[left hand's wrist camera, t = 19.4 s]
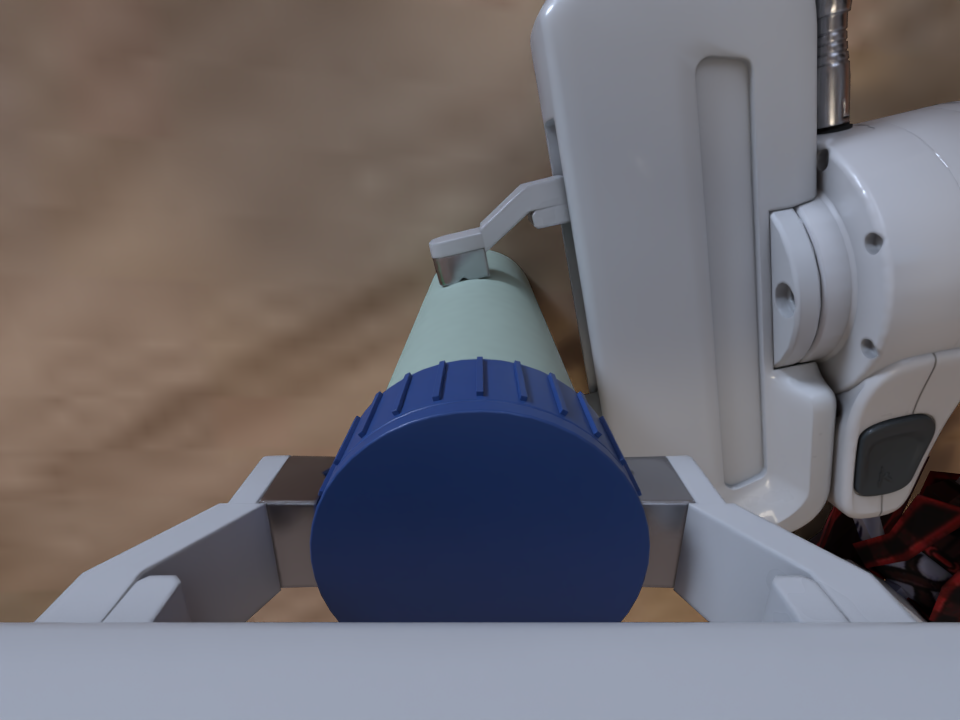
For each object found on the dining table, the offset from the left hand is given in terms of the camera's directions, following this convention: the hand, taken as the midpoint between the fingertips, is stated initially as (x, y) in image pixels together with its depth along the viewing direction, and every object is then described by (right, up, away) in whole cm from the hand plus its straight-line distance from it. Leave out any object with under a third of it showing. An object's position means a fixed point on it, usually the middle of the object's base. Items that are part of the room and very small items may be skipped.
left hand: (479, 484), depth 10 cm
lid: (0, -1, -2) cm, 2 cm away
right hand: (-1, +3, +9) cm, 9 cm away
